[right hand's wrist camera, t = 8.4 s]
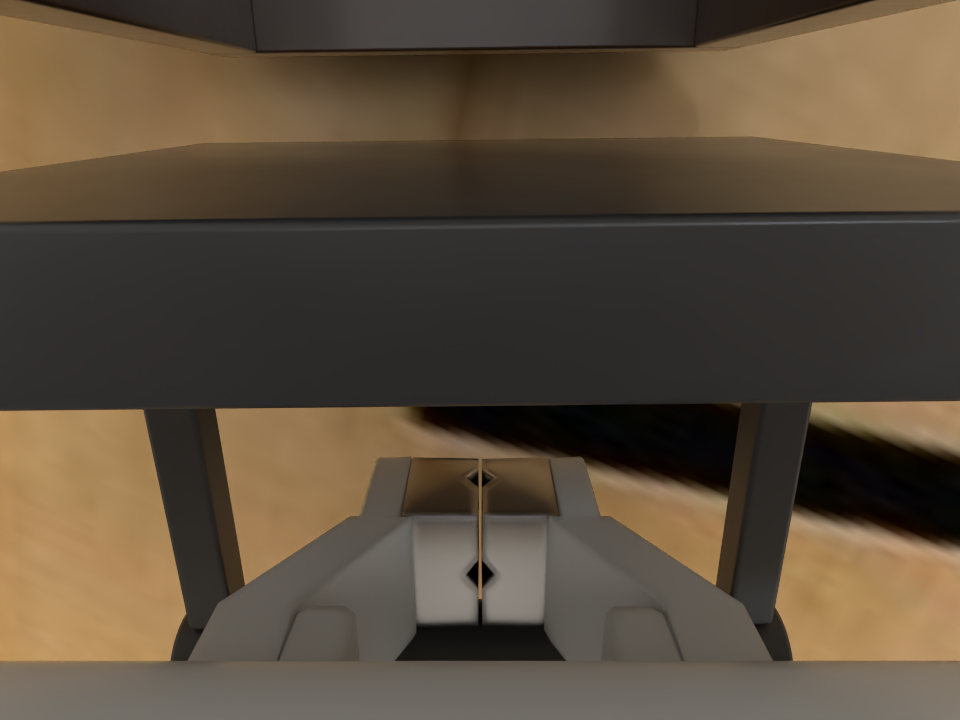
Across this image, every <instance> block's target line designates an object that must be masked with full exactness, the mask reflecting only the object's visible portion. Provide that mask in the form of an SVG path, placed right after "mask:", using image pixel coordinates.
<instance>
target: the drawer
mask: <svg viewBox="0 0 960 720" xmlns="http://www.w3.org/2000/svg"><path fill="white" fill-rule="evenodd" d="M950 1H955V0H0V15H2V16H7V17H13V18H18V19H24V20H29V21H34V22H40V23H45V24H51V25H56V26H61V27H67V28H72V29H78V30H83V31H88V32H94V33H99V34H105V35H110V36H115V37H121V38H126V39H132V40H137V41H142V42H148V43H153V44H159V45H164V46H169V47H175V48H180V49H186V50H191V51H196V52H202V53H207V54H213V55H218V56H223V57H282V56H359V55H436V54H513V53H590V52H667V51H726V50H730V49H735V48H740V47H745V46H749V45H754V44H758V43H763V42H767V41H772V40H777V39H781V38H786V37H790V36H795V35H800V34H804V33H809V32H813V31H818V30H822V29H827V28H832V27H836V26H841V25H845V24H850V23H854V22H859V21H864V20H868V19H873V18H877V17H882V16H886V15H891V14H896V13H900V12H905V11H909V10H914V9H918V8H923V7H928V6H932V5H937V4H941V3H946V2H950ZM900 401H960V162H959V161H951V160H942V159H934V158H926V157H917V156H909V155H901V154H892V153H884V152H876V151H867V150H859V149H851V148H842V147H834V146H826V145H817V144H809V143H801V142H792V141H784V140H775V139H767V138H759V137H693V138H612V139H530V140H449V141H368V142H287V143H206V144H195V145H188V146H181V147H174V148H167V149H160V150H153V151H146V152H139V153H132V154H125V155H117V156H110V157H103V158H96V159H89V160H82V161H75V162H68V163H61V164H54V165H47V166H40V167H33V168H25V169H18V170H11V171H4V172H0V411H25V410H122V409H143V410H144V414H145V419H146V424H147V429H148V433H149V438H150V443H151V447H152V452H153V457H154V462H155V466H156V471H157V476H158V480H159V485H160V490H161V495H162V499H163V504H164V509H165V513H166V518H167V523H168V528H169V532H170V537H171V542H172V546H173V551H174V556H175V561H176V565H177V570H178V575H179V580H180V584H181V589H182V594H183V598H184V603H185V608H186V613H187V614H186V615H185V617H184V619H183V621H182V623H181V625H180V627H179V630H178V633H177V635H176V639H175V642H174V646H173V650H172V655H171V661H188V659H189V657H190V655H191V653H192V651H193V650H194V648H195V646H196V644H197V642H198V640H199V638H200V636H201V634H202V633H203V631H204V629H205V627H206V625H207V623H208V621H209V619H210V617H211V616H212V614H213V612H214V610H215V608H216V606H217V604H218V603H219V602H221V601H222V600H224V599H225V598H227V597H228V596H230V595H231V594H233V593H235V592H236V591H238V590H239V589H241V588H242V587H244V586H245V583H244V577H243V571H242V565H241V559H240V553H239V547H238V541H237V536H236V530H235V524H234V518H233V512H232V506H231V500H230V494H229V488H228V482H227V477H226V471H225V465H224V459H223V453H222V447H221V441H220V435H219V429H218V424H217V418H216V412H215V409H219V408H317V407H414V406H511V405H608V404H705V403H742V405H741V412H740V419H739V426H738V433H737V440H736V447H735V454H734V461H733V468H732V476H731V483H730V490H729V497H728V504H727V511H726V518H725V525H724V532H723V539H722V546H721V553H720V561H719V568H718V575H717V582H716V587H718V588H719V589H721V590H722V591H724V592H725V593H727V594H728V595H730V596H731V597H733V598H734V599H736V600H738V601H739V602H741V603H742V604H743V605H744V606H745V608H746V610H747V612H748V614H749V616H750V618H751V620H752V622H753V624H754V626H755V627H756V629H757V631H758V633H759V635H760V637H761V639H762V641H763V643H764V645H765V647H766V648H767V650H768V652H769V654H770V656H771V658H772V660H773V661H793V659H792V652H791V647H790V643H789V639H788V636H787V632H786V629H785V627H784V624H783V622H782V619H781V617H780V615H779V613H778V611H777V610H776V608H775V603H776V597H777V592H778V586H779V581H780V575H781V570H782V564H783V559H784V553H785V548H786V543H787V537H788V532H789V526H790V521H791V515H792V510H793V504H794V499H795V493H796V488H797V482H798V477H799V471H800V466H801V460H802V455H803V449H804V444H805V438H806V433H807V427H808V422H809V417H810V411H811V406H812V402H900ZM395 661H566V660H565V659H564V657H563V656H562V655H561V654H560V653H559V651H558V650H557V649H556V648H555V646H554V645H553V644H552V643H551V641H550V639H549V638H548V636H547V634H546V632H545V631H544V627H486V626H483V624H482V599H478V627H443V628H416V634H415V636H414V638H413V639H412V640H411V641H410V643H409V644H408V645H407V646H406V648H405V649H404V650H403V651H402V652H401V654H400V655H399V656H398V657H397V658H396V660H395Z"/></svg>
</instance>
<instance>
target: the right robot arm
mask: <svg viewBox="0 0 960 720" xmlns="http://www.w3.org/2000/svg"><path fill="white" fill-rule="evenodd" d="M478 510H479V472H478V459H466V458H413V459H412V458H411V457H382V458H378V459H377V460H376V462H375V466H374V469H373V472H372V476H371V479H370V483H369V486H368V489H367V493H366V496H365V500H364V503H363V507H362V510H361V513H360V516H356V517H349V518H347V519H346V520H344V521H343V522H341V523H339V524H338V525H336V526H335V527H333V528H332V529H330V530H329V531H327V532H326V533H324V534H323V535H321V536H320V537H318V538H317V539H315V540H314V541H312V542H311V543H309V544H308V545H306V546H304V547H303V548H301V549H300V550H298V551H297V552H295V553H294V554H292V555H291V556H289V557H288V558H286V559H285V560H283V561H282V562H280V563H279V564H277V565H276V566H274V567H273V568H271V569H270V570H268V571H266V572H265V573H263V574H262V575H260V576H259V577H257V578H256V579H254V580H253V581H251V582H250V583H248V584H247V585H245V586H244V587H242V588H241V589H239V590H238V591H236V592H235V593H233V594H231V595H230V596H228V597H227V598H225V599H224V600H222V601H221V602H219V603H218V604H217V606H216V608H215V610H214V612H213V614H212V616H211V617H210V619H209V621H208V623H207V625H206V627H205V629H204V631H203V633H202V634H201V636H200V638H199V640H198V642H197V644H196V646H195V648H194V650H193V651H192V653H191V655H190V657H189V659H188V661H0V720H960V661H773V660H772V658H771V656H770V654H769V652H768V650H767V648H766V647H765V645H764V643H763V641H762V639H761V637H760V635H759V633H758V631H757V629H756V627H755V626H754V624H753V622H752V620H751V618H750V616H749V614H748V612H747V610H746V608H745V606H744V605H743V604H742V603H741V602H739V601H738V600H736V599H734V598H733V597H731V596H730V595H728V594H727V593H725V592H724V591H722V590H721V589H719V588H718V587H716V586H715V585H713V584H712V583H710V582H709V581H707V580H706V579H704V578H703V577H701V576H700V575H698V574H697V573H695V572H694V571H692V570H691V569H689V568H688V567H686V566H684V565H683V564H681V563H680V562H678V561H677V560H675V559H674V558H672V557H671V556H669V555H668V554H666V553H665V552H663V551H662V550H660V549H659V548H657V547H656V546H654V545H653V544H651V543H650V542H648V541H647V540H645V539H644V538H642V537H641V536H639V535H638V534H636V533H634V532H633V531H631V530H630V529H628V528H627V527H625V526H624V525H622V524H621V523H619V522H618V521H616V520H615V519H613V518H612V517H605V516H600V512H599V509H598V506H597V502H596V499H595V495H594V492H593V489H592V485H591V482H590V479H589V475H588V472H587V469H586V465H585V462H584V459H583V458H581V457H561V458H548V457H547V458H505V459H482V624H483V626H486V627H544V631H545V632H546V634H547V636H548V638H549V639H550V641H551V643H552V644H553V645H554V646H555V648H556V649H557V650H558V651H559V653H560V654H561V655H562V656H563V657H564V659H565V660H566V661H395V660H396V658H397V657H398V656H399V655H400V654H401V652H402V651H403V650H404V649H405V648H406V646H407V645H408V644H409V643H410V641H411V640H412V639H413V638H414V636H415V634H416V628H443V627H478V571H479V512H478Z"/></svg>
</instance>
